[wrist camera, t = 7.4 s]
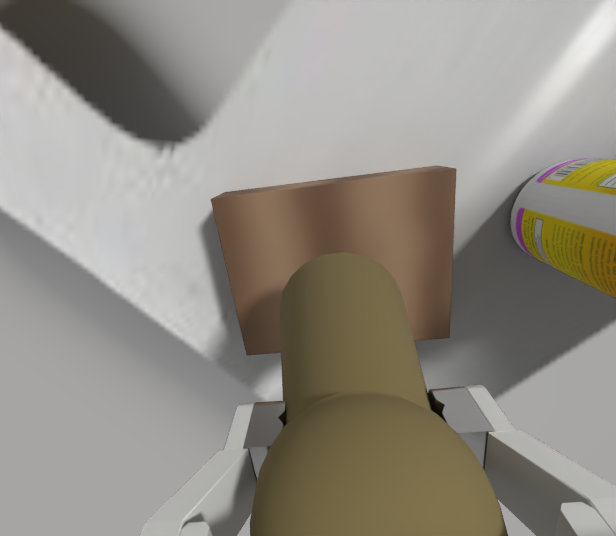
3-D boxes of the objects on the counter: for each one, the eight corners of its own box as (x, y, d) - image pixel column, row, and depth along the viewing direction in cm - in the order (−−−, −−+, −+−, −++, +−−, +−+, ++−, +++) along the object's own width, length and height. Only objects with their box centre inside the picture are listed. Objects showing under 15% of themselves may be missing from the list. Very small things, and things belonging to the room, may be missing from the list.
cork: (395, 362, 17) (524, 714, 6) (280, 359, 17) (222, 699, 6) (410, 253, 14) (643, 516, 4) (278, 250, 15) (185, 499, 4)
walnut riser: (437, 165, 20) (456, 168, 17) (434, 315, 24) (449, 337, 21) (224, 192, 21) (210, 199, 18) (254, 332, 25) (246, 355, 22)
